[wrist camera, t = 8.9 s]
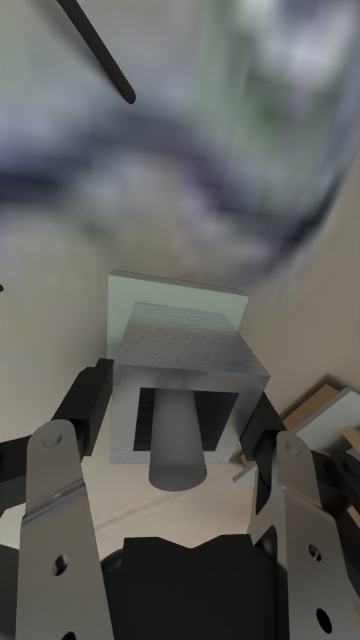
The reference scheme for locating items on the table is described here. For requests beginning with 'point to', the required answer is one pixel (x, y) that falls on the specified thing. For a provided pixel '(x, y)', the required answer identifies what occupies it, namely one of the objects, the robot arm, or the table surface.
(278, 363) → the table surface
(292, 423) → the desk lamp
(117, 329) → the shaft block
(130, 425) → the grey hollow cube
